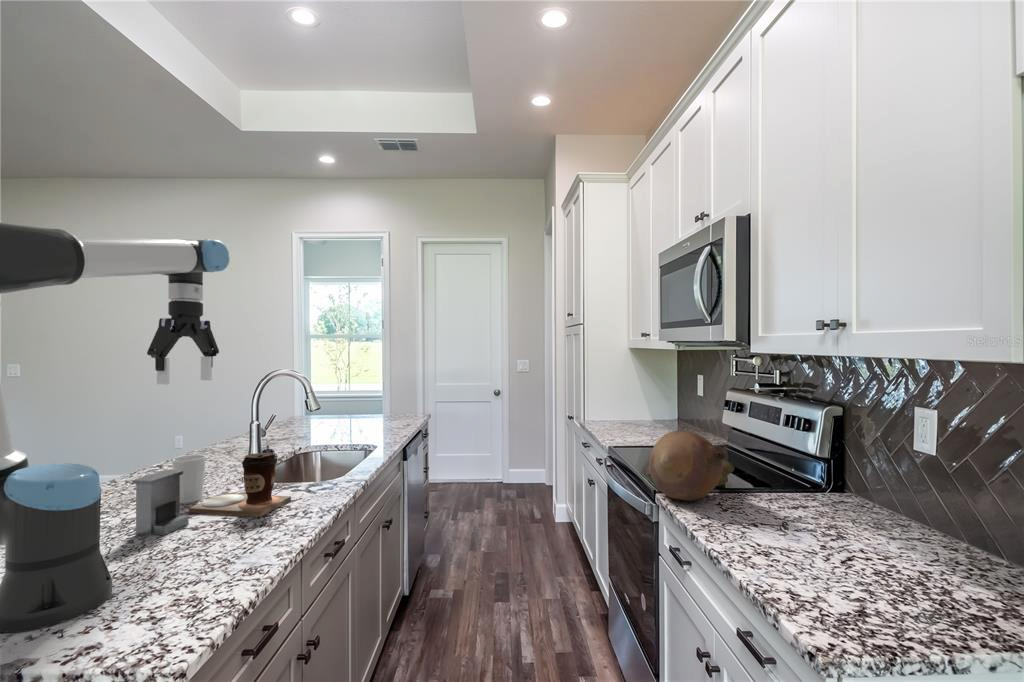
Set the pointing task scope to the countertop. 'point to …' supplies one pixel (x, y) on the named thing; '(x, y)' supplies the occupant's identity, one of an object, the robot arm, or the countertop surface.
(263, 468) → the coffee cup
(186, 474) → the cup
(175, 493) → the miniature fireplace
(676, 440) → the jug
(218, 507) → the walnut board
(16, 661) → the countertop surface
